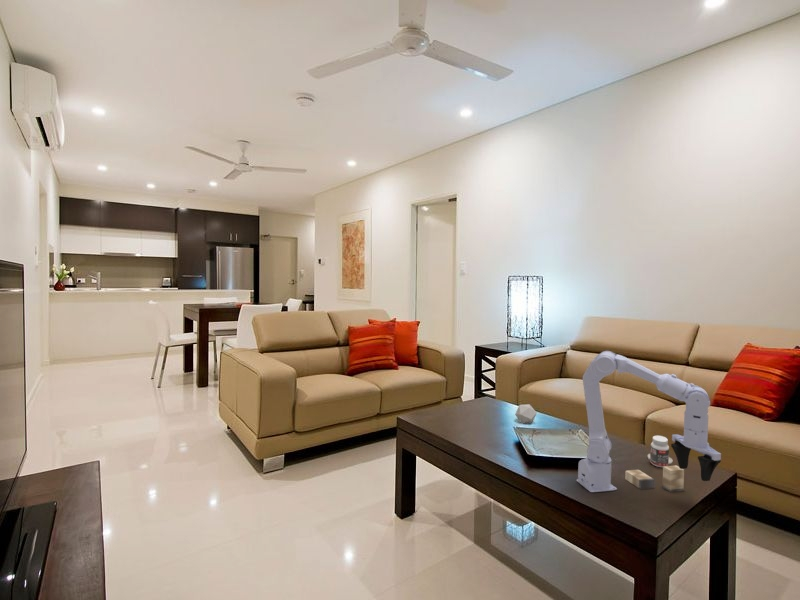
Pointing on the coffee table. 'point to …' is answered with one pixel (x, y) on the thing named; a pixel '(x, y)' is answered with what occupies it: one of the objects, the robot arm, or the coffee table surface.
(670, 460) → the stone coaster
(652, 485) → the beech tile
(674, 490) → the beech tile
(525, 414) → the die
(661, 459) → the pill bottle
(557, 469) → the coffee table surface
